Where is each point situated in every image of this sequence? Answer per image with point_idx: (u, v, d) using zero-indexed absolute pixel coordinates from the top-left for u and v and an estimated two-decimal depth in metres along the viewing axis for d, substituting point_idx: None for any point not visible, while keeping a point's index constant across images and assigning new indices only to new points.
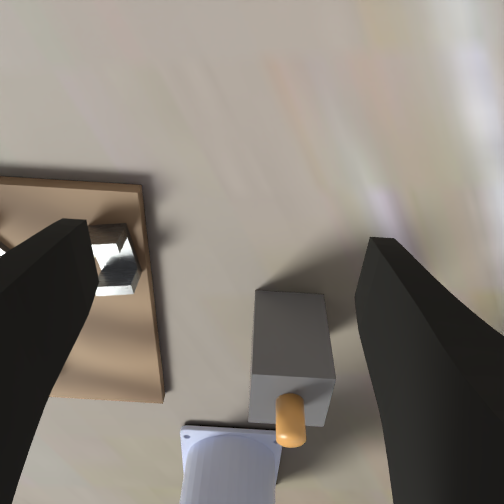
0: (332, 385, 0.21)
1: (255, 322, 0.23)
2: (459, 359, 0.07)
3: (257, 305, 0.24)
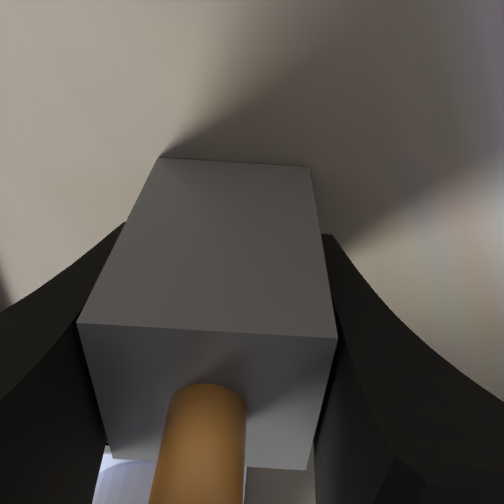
0: (327, 359, 0.07)
1: (136, 208, 0.09)
2: (357, 353, 0.07)
3: (153, 180, 0.10)
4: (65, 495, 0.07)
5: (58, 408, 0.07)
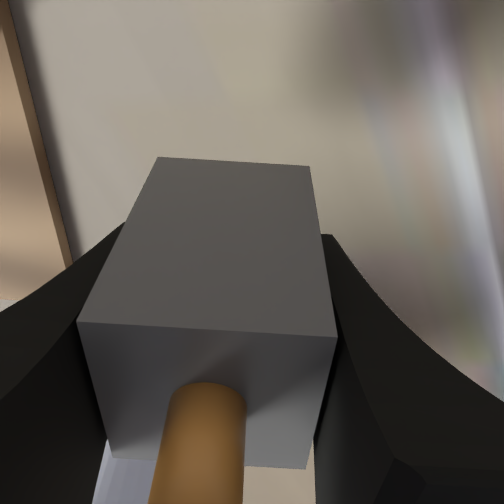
0: (326, 357, 0.07)
1: (136, 207, 0.09)
2: (357, 353, 0.07)
3: (153, 179, 0.10)
4: (65, 495, 0.07)
5: (58, 408, 0.07)
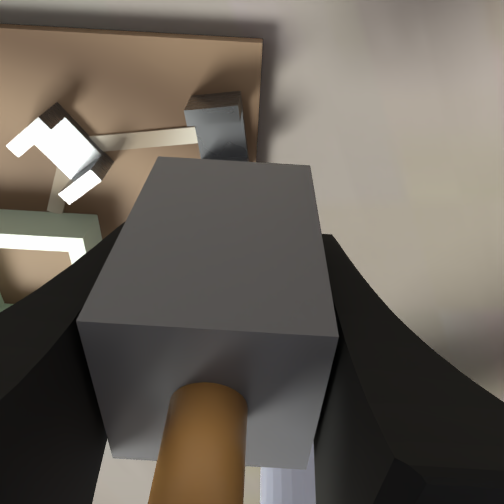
0: (327, 357, 0.07)
1: (136, 207, 0.09)
2: (357, 353, 0.07)
3: (153, 179, 0.10)
4: (65, 495, 0.07)
5: (58, 407, 0.07)
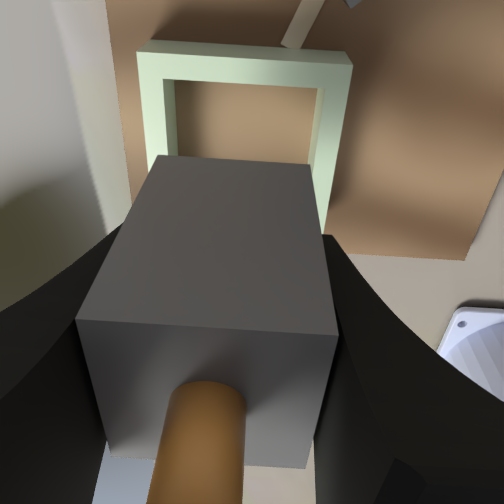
0: (327, 356, 0.07)
1: (135, 205, 0.09)
2: (357, 353, 0.07)
3: (152, 177, 0.10)
4: (65, 495, 0.07)
5: (58, 408, 0.07)
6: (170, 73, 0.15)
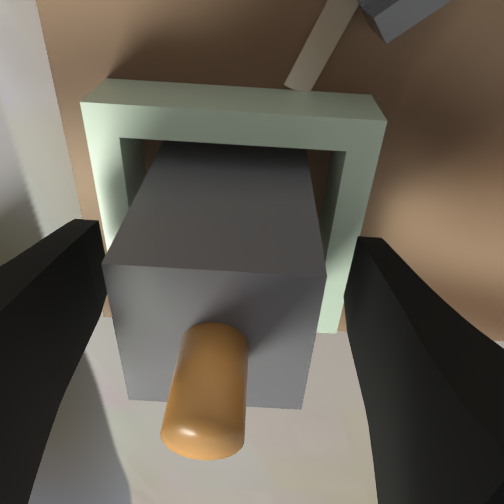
0: (318, 297, 0.08)
1: (148, 176, 0.10)
2: (439, 358, 0.07)
3: (162, 154, 0.11)
4: None
5: None
6: (129, 130, 0.10)
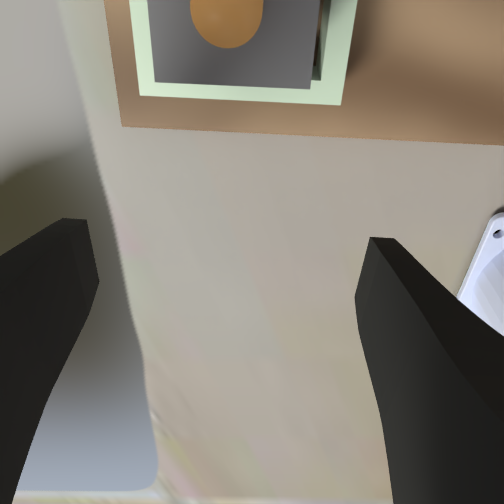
0: None
1: None
2: (459, 359, 0.07)
3: None
4: None
5: None
6: None
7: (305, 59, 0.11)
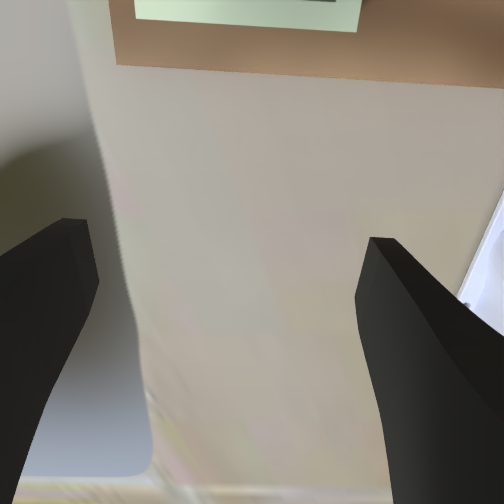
0: None
1: None
2: (459, 359, 0.07)
3: None
4: None
5: None
6: None
7: None
